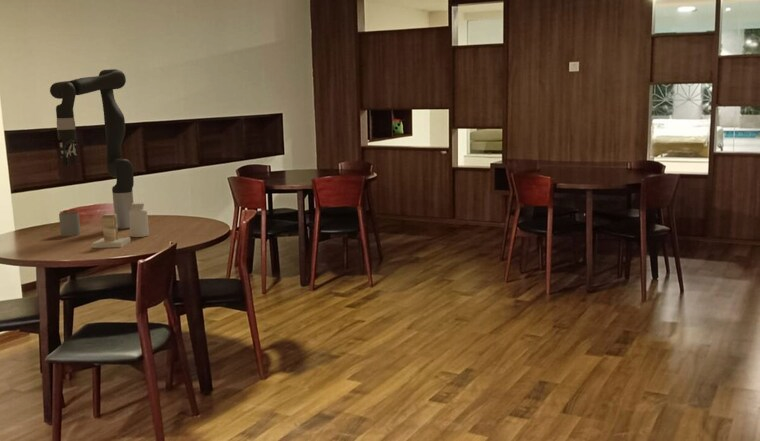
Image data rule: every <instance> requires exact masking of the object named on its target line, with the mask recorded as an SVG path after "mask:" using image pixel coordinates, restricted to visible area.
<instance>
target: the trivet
mask: <svg viewBox="0 0 760 441" xmlns="http://www.w3.org/2000/svg"><path fill="white" fill-rule="evenodd" d="M118 238H119V239H118V240H116V241H104V237H101V238H100V239H97V240H96V241H94V242H92V243H91V244H92V249H93V248H94V249H102V248H122V247H124V246H125V245H126V246H127V244H129V243H131V242H132V241H131V240H132V239H131V236H128V237H127V236H122V237H119V236H118Z"/></svg>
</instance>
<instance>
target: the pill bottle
mask: <svg viewBox="0 0 760 441" xmlns="http://www.w3.org/2000/svg"><path fill="white" fill-rule="evenodd" d="M131 206H132V209H131V210H130V211H129V222H130V228H129V232H130V233H129V234H130V238H143V237H144V238H146V237H148V236H150V234H149V218H148V210H147V209H145V208H144V206H145V204H144V202H133V203H132V204H131Z"/></svg>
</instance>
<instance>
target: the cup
mask: <svg viewBox="0 0 760 441" xmlns="http://www.w3.org/2000/svg"><path fill="white" fill-rule="evenodd" d="M58 220H59V226H60V227H59V229H60V236H61V237H76V236H80V235H81V225H80V224H81V223H80V214H79V212H76V211H72V212H71V211H70V212H69V211H68V212H61V213H59V214H58Z"/></svg>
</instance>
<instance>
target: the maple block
mask: <svg viewBox="0 0 760 441" xmlns="http://www.w3.org/2000/svg"><path fill="white" fill-rule="evenodd" d="M101 217H102V230H103V232H102V233H103V238H104V241H116V240H118V239H119V238H118V237H119V229H118V226H117V215H116V214H114V213H104V214H102V215H101Z"/></svg>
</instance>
